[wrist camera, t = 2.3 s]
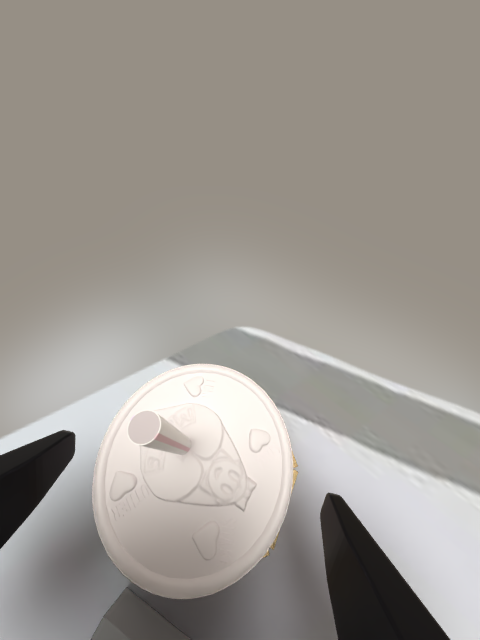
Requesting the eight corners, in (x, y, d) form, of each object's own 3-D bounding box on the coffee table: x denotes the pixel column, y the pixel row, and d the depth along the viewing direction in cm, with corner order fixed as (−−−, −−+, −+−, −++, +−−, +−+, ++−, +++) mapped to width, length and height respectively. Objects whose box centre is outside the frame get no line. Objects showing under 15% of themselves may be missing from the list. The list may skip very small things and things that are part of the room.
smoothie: (201, 393, 18) (155, 254, 6) (274, 443, 16) (406, 385, 5) (140, 479, 15) (-188, 538, 3) (224, 550, 13) (227, 1224, 2)
